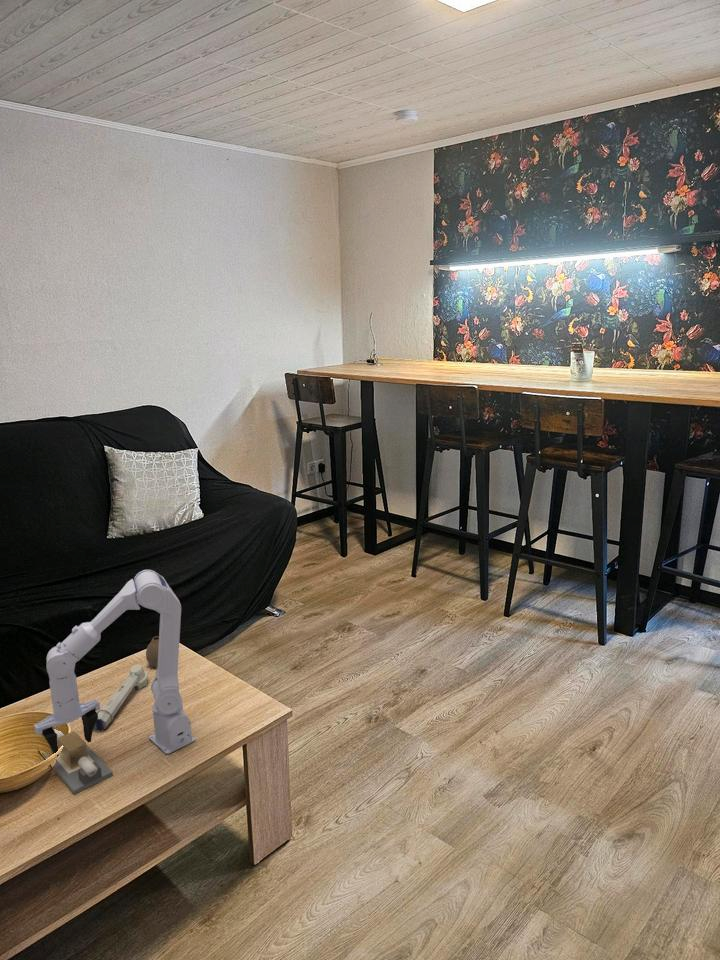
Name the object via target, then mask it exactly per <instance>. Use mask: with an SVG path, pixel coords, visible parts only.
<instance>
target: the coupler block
mask: <svg viewBox="0 0 720 960" xmlns="http://www.w3.org/2000/svg"><path fill="white" fill-rule="evenodd" d="M57 739H58V746H59V747H60V746H62V745H63V746H64V747H63V749H62V751H61V753H60V757H61V758H62V759H63V760H64V762H65V763H66V764H67V765H68V766H69V767H70V769H71V770H73V769H75V768H77V767H79V766H78V761H79V759H80V758H82V757H84V756H85V757H87V758H88V753H87V746H86V744H87V743H86V742H85V741H84V740H83V738H82V737H81V736H80V735H79V734H78V733H77V732H76V731H75V730H73V731H71V732H68V734H66V735H64V736H61V737H59V738H57Z"/></svg>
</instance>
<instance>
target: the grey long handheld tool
mask: <svg viewBox="0 0 720 960" xmlns="http://www.w3.org/2000/svg"><path fill="white" fill-rule="evenodd" d="M148 678H149V672H148V671H147V670H145V669H144V667H143V665H142V664H140V663H138V664H137V663H136V664H134V665H133V666H131V667H130V669H129V675H128V676H127V677H126V678H125V679H124V681H123V682H122V683H121V684H120V686H119V687H118V688H117V690H115V691H114V693H113V694H112V695H111V696H110V698H109V699H108V700H107V702H106V703H105V704H104V705H103V706H102V708H100V710H97V711H96V712H97V713H98V719H97V721H96V723H95V725H94V728H93V730H94V731H98V730H103V731H105V730H106V729H107V727H108V725H109V724H110V723H112V722H113V720H114V717H115V715H116V714H117V712H118V711H119V709H120V708H121V707H122V705H123V704H124V702H125V700H126V699H127V697H128V696H129V695H130V693H131V692H132V691H133V690H135V691H138V690H142V689H143V688H144V687H146V686H148V684H149V683H148Z"/></svg>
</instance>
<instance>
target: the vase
mask: <svg viewBox="0 0 720 960" xmlns="http://www.w3.org/2000/svg"><path fill="white" fill-rule="evenodd" d="M158 648H159V635H158V636H154V637H152V639H151V641H150V643H149V644H148V645H147V647H146V650H145V658H146V661H147V663H148V664H149V665H150V666H151V667H153V668H157V667H158Z"/></svg>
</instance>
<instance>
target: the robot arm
mask: <svg viewBox="0 0 720 960" xmlns="http://www.w3.org/2000/svg"><path fill="white" fill-rule="evenodd" d="M141 606H142V607H143V608H146V609H149V610H151V611H152V610H153V611H155V612H156V613H158V614H160V616H159V633H158V637H159V648H158V667H157V669H156V670H155V676H154V678H153V681H152V682H151V685H150V691H151V693H152V695H153V701H154V703H153V704H152V717H153V728H154V733H153V734H151V735H149V736H148V739H149V740H150V741H152V742H153V744H155V746H157V747H158V748H159V749H160V750H161V751H162V752H164V754H165V755H169V754H172V753H173V752H175V751H177V750H179V749H181V748H183V747H185V746H188V745H189V744H192V743H194V742H196V738H195V737H194V736H193V735H192V726H191V725H192V724H191V719H190V717H189V716H188V715H187V714H186V713H185V710H184V707H183V698H182V695H181V694H180V684H179V676H178V672H179V655H180V654H179V653H180V636H181V621H182V620H181V618H182V617H181V616H182V604H181V602H180V599H179V598H178V597H177V595H176V593H174V591H173V589H172V587H170V585H169V584H168V582H167V580H166V579H165V578H164V576H162V575H161V574H159V573H158V572H156V571H155V570H152V569H143V570H141V571H139V572H138V573H136V574H135V576H134V578H131V579H130V580H128V581H127V582H126V583H125V585H124V586H123V587H122V588H121V590H120V591H119V592H118V593H117V594H116V595H115V596H114V597H113V598H112V599H111V600H110V601H108V603H107V605H106V606H104V607H103V609H102V610H101V611H100V612H99V613H98V614H97V615H96V616H95V617H94V618H93V619H91V621H86V622H82V623H80V624H79V625H75V626H74V627H73V628H72V629H71V633H70V634H69V635H68V636H67V637H66V638H65V639H64V640H63V641H62V642H60V641H59V642H58V643H57V644H56V646H53V647H52V648H51V649H49V651H48V653H47V655H46V658H45V660H46V667H45V668H46V672H47V674H48V679H49V681H48V683H49V690H50V691H49V692H50V695H51V703H52V704H51V705H52V711H53V713H52V714H50V715H49V716H47V717H46V718H43V719H42V720H40V721H39V722H37V723H34V724H33V727H34V733H35V734H36V735H37V736H40V735H42V736H43V737H44V739H45V741H46V743H48V744H49V745H50V747H51V750H52V753H53V754H54V753H56V752H57V751H58V746H57V734H56V733H55V731H54V729H53V727H56V726H61V725H66V724H70V723H73V722H75V721H77V720H79V718H81V721H82V727H83V735H84V740H85V741H86V742H88V743H91V742H92V736H93V732H94V729H93V728H94V725H95V723H96V721H97V719H98V713H97V712H98V711H99V710H100V709H101V705H100V704H101V703H100V701H99V700H97V699H93V700H90V701H86V702H82V703H81V702H80V694H79V689H78V681H77V675H76V673H75V669H76V668H75V667H76V663H77V662H79V661H80V660H81V659H82V658H84V656H85V655H86V654H88V653H89V652H90V651H91V650H92V649H93V648H94V647H95V646H96V645H97V644H98V643H99V642H100V641H101V637H102V636H101V633H102V632H103V631H104V630H106V628H108V627H109V626H110V625H111V624H113V622H115V621H116V620H117V619H118V618H119V617H121V616H122V614H123V613H125V612H126V611H129V610H136V611H139V610H141ZM58 756H59V754H58V755H57V757H58Z"/></svg>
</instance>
